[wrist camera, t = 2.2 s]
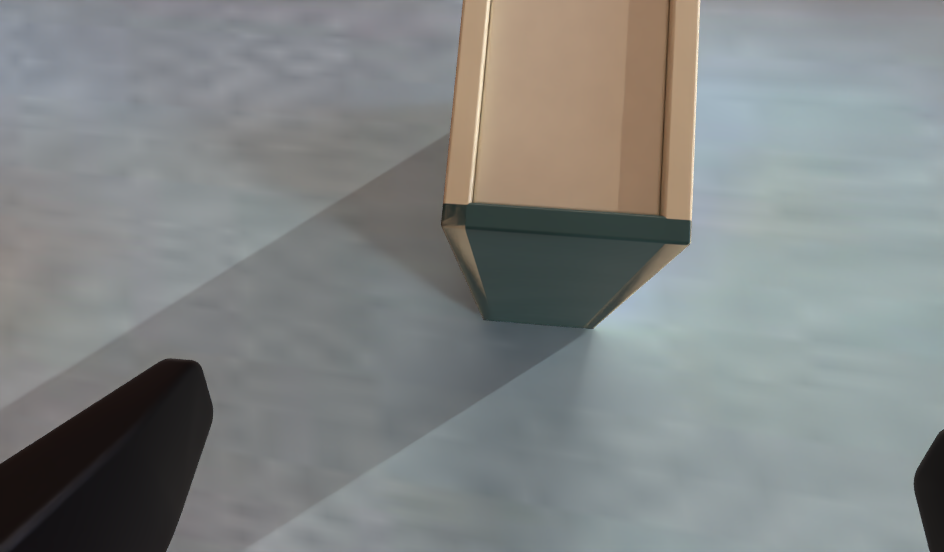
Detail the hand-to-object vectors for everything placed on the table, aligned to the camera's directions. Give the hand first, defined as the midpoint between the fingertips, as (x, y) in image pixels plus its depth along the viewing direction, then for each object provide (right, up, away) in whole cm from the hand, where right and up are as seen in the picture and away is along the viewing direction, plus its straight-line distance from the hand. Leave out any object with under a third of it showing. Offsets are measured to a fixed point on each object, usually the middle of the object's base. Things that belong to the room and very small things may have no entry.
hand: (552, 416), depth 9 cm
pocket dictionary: (+1, +4, +14) cm, 15 cm away
